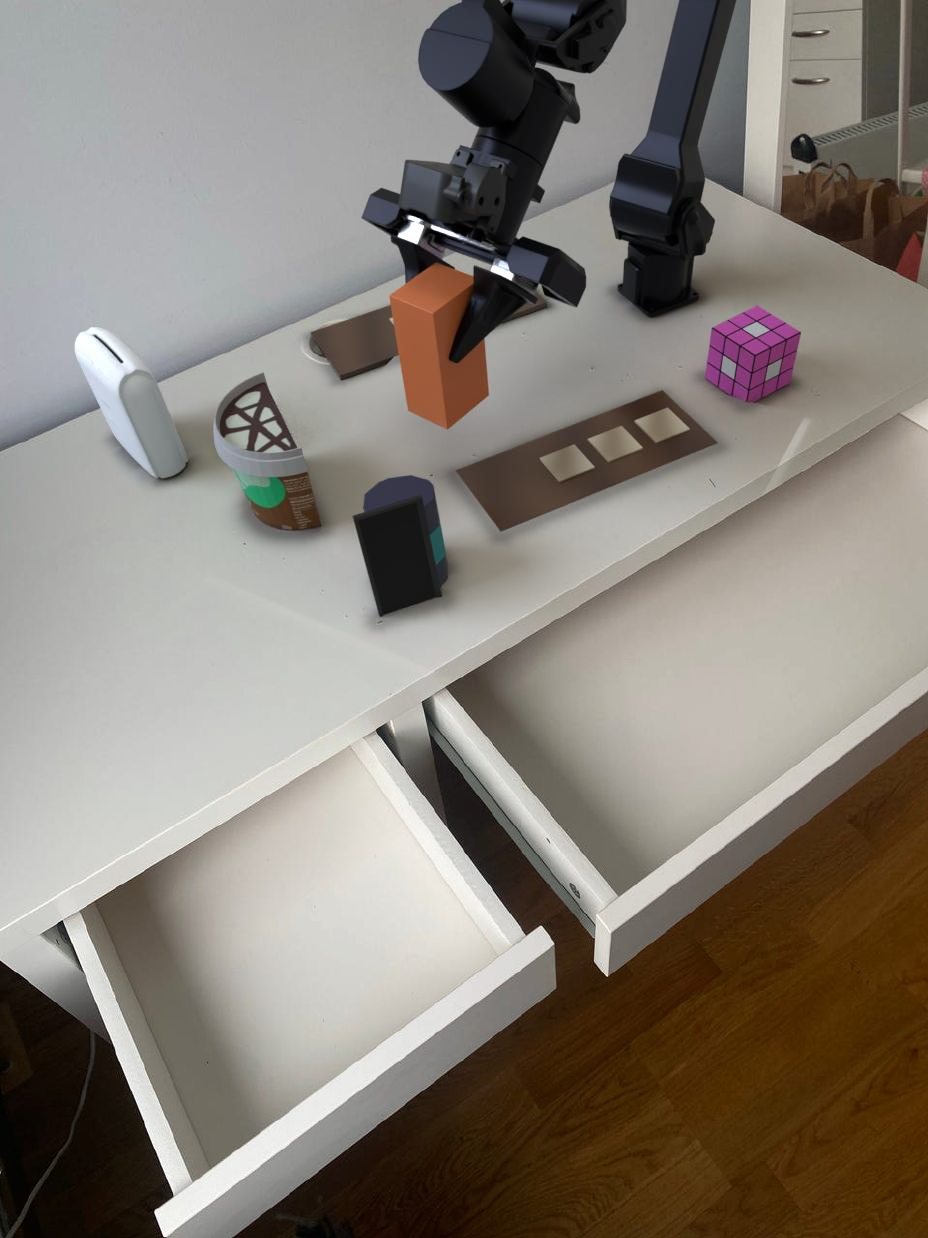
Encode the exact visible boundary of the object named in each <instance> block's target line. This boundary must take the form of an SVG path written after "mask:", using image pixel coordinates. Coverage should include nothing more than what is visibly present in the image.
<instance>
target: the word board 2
mask: <svg viewBox="0 0 928 1238" xmlns="http://www.w3.org/2000/svg"><path fill="white" fill-rule="evenodd" d="M718 443H719V442H718V441H717V440H716V439H715V438H714V437H713V436H712V435H710V433H709V432H707V431H706V430H705V429H704V428H703V427H702V426H701V425H700V424H699V423H698V422H697V421H696V420H695V419H693V417H692V416H691V415H689V413H688V412H686V411H685V410H684V409H683V408H682V407H681V406H680V405H679V404H677V402H676V401H675V400H673V398H671V396H669V395H668V394H667V393H666V392H665V391H664V390H663V389H661V390H658V391H656V392H653V393H651V394H649V395H646V396H643V397H641V398H638V399H635V400H632V401H630V402H628V403H625V404H622V405H620V406H617V407H615V408H612V409H610V410H607V411H604V412H602V413H599V414H597V415H594V416H591V417H589V418H587V419H584V420H581V421H579V422H576V423H573V424H571V425H569V426H566V427H563V428H561V429H558V430H555V431H553V432H551V433H548V434H546V435H543V436H540V437H537V438H535V439H533V440H530V441H527V442H525V443H522V444H520V445H516V446H513V447H512V448H509V449H507V450H504V451H501V452H499V453H496V454H494V455H492V456H489V457H485V458H484V459H481V460H479V461H475V462H473V463H470V464H468V465H465V466H462V467H461V468H458V469H455V472H456V474H457V475H458V476H459V478H460V479H461V480H462V481H463V483H464V485H465V486H466V487H467V488H468V490H469V491H470V493H471V494H472V495H473V496H474V498H475V499H476V501H477V503H479V504H480V506H481V507H482V509H483V510H484V511H485V513H486V514H487V515H488V517H489V518H490V519H491V521H492V522H493V524H494V525H495V526H496V527H497V529H498V531H499V532H503V531H506V530H509V529H511V528H513V527H516V526H519V525H521V524H523V523H527V522H529V521H531V520H533V519H536V518H538V517H540V516H543V515H546V514H548V513H551V512H553V511H555V510H558V509H560V508H562V507H565V506H567V505H571V504H573V503H576V502H577V501H581V500H582V499H585V498H587V497H589V496H592V495H595V494H597V493H599V492H602V491H605V490H606V489H609V488H611V487H614V486H616V485H618V484H621V483H624V482H626V481H628V480H631V479H634V478H636V477H639V476H641V475H644V474H646V473H648V472H651V471H653V470H655V469H658V468H660V467H663V466H665V465H667V464H670V463H672V462H675V461H678V460H680V459H682V458H685V457H688V456H690V455H692V454H695V453H697V452H699V451H702V450H704V449H707V448H709V447H712V446H715V445H716V444H718Z"/></svg>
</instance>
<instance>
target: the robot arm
mask: <svg viewBox="0 0 928 1238" xmlns="http://www.w3.org/2000/svg"><path fill="white" fill-rule="evenodd" d="M736 3H737V0H678V3H677V7H676V11H675V14H674V15H675V16H674V20H673V24H672V28H671V32H670V36H669V41H668V45H667V49H666V52H665V57H664V62H663V64H662V70H661V73H660V77H659V82H658V85H657V90H656V94H655V99H654V103H653V107H652V110H651V115H650V119H649V124H648V128H647V131H646V134H645V137H644V138H643V139H642V141H640V143H638V145H637V146H636V147H635V149H633V150H632V152H631V153H630V154H629V153H627V152H626V153H623V155H622V156H621V157H620V159H619V160H618V163H617V169H616V174H615V175H616V176H615V180H614V184H613V187H612V190H611V192H610V194H609V203H608V210H609V217H610V220H611V223H612V229H613V234H614V237H615V239H616V240H618V241H624V242H627V257H626V258H624V260H623V268H622V269H623V272H622V283H619V284H618V285H617V288H616V289H617V292H619V293H620V294H621V295H622V296H623V297H624V298H625V299H627V300H628V302H630V303H631V304H632V305H634V306H635V307H636V308H637V309H638V310H639V311H640V312H641V313H643V314H644V315H645V316H646V317H650V318H651V317H655V316H657V315H660V314H662V313H665V312H668V311H671V310H673V309H677V308H679V307H682V306H684V305H687V304H689V303H692V302H695V301H697V300H699V299H700V292H698V291H697V290H696V289H695V288H694V287H693V286H692V283H693V273H694V265H695V264H694V263H695V257H697V256H699V257H700V256H703V255H704V254H705V253H706V251H707V245H708V244H709V243H710V241H711V238H712V236H713V234H714V227H715V224H716V219H715V218H714V217H713V215H712V214H711V213H710V211H709V210H708V209H707V208H706V207H705V206H704V204H703V203H702V199H703V193H704V188H705V184H706V176H705V171H704V167H703V163H702V159H701V155H700V151H699V146H698V145H699V141H700V137H701V133H702V129H703V125H704V122H705V119H706V116H707V112H708V107H709V105H710V99H711V97H712V92H713V89H714V86H715V81H716V78H717V74H718V71H719V66H720V64H721V60H722V55H723V52H724V48H725V45H726V40H727V37H728V34H729V31H730V30H729V29H730V25H731V22H732V18H733V14H734V11H735V8H736ZM627 6H628V0H503V1H502V2H501V0H461V2H458V3H455V4H453V5H451V6H449V7H448V8H446V9H445V10H443V12H440V14H439V15H438V16H437V17H436V18H435V19H434V20H433V22H432V23H431V25H430V26H429V27H427V28H426V29H425V30H424V32H423V34H422V37H421V40H420V43H419V47H418V54H417V55H418V56H417V63H418V70H419V72H420V76H421V78H422V80H424V82H425V83H426V84H427V86H429V87H430V88H431V89H432V90H433V91H434V92H435V93H436V94H437V95H439V97H440V98H442V99H443V100H444V101H446V102H447V104H449V105H450V106H451V107H452V108H453V109H454V110H456V112H457V113H458V114H460V115H461V116H462V117H463V118H464V119H466V120H467V121H468V122H469V123H470V124H472V125H473V126H475V127H476V128H477V132H476V134H475V136H474V139H473V140H472V143H471V147H468V146H465V145H462V144H459V147H458V148H457V149H456V150H455V151H454V154H453V156H452V159H451V161H450V162H449V163H447V162H440V161H431V160H430V161H429V160H418V159H405V160H404V166H403V172H402V177H401V186H400V192H396V191H392V190H391V189H390V190H389V189H387V188H383V187H380V188H379V189H377V190H375V191H373V192H372V193H371V194H369V196H368V199H367V201H366V204H365V206H364V210H363V212H362V215H361V218H360V219H362V220H363V221H365V222H367V223H369V224H370V225H371V226H373V227H375V228H376V229H378V230H380V231H382V232H383V233H385V234H386V235H389V236H390V242H391V244H393V245H394V246H396V247H397V248H398V250H399V254H400V256H401V259H402V261H403V266H404V279H405V280H404V282H405V283H404V285H405V284H406V283H407V282H409V281H410V280H412V279H413V278H415V277H416V276H417V275H419V274H420V273H422V272H423V271H424V270H426V269H427V268H429V267H430V266H432V265H433V264H434V263H436V262H437V263H439V264H442V265H445V266H447V267H450V268H452V269H455V270H456V267H455V266H453V265H452V264H450V263H448V262H447V261H446V260H443V258H444V256H445V253H446V250H450V251H452V252H455V253H456V254H460V255H462V256H466V257H468V258H471V259H474V260H477V261H479V262H482V263H485V264H487V265H490V268H489V269H487V268H483V267H481V266H478V265H473V268H472V269H473V271H472V272H473V273H472V276H473V294H472V296H471V299H470V301H469V304H468V306H467V308H466V311H465V313H464V316H463V318H462V321H461V323H460V325H459V328H458V330H457V333H456V335H455V338H454V341H453V344H452V347H451V351H450V354H449V360H450V361H452V362H454V363H459V362H460V361H461V360H462V359H463V358H464V357H465V356H466V355H468V354H469V353H470V352H471V351H472V350H473V349H474V348H475V347H476V346H477V345H478V344H479V343H480V342H481V341H482V340H483V339H484V338H485V339H486V338H487V337H488V336H489V335H490V334H491V333H492V332H493V331H494V330H495V329H496V328H497V327H498V326H500V325H501V324H503V323H504V322H503V321H504V320H506V319H507V318H508V317H510V316H511V315H512V314H513V313H515V312H516V311H517V310H518V309H520V308H521V307H522V306H524V305H525V304H526V303H531V304H534V305H535V304H536V303H537V301H538V298H537V297H535V296H534V294H535V292H537V289H538V287H539V285H540V286H541V290H542V292H543V295H544V296H545V297H546V298H549V299H551V300H554V301H556V302H559V303H562V304H564V305H567V306H569V307H570V306H571V307H573V308H578V306H579V305H580V303H581V300H582V297H583V296H584V293H585V290H586V289H587V274H586V268H585V267H583V266H582V264H580V263H579V262H577V261H576V260H574V259H573V258H572V257H571V256H570V255H568V254H567V253H565V251H563V250H562V249H561V248H559V247H556V246H553V245H550V244H547V243H544V242H541V241H538V240H535V239H532V238H529V237H528V236H527V237H526V236H524V235H522V236H521V237H519V238H518V237H517V236H518V233H519V231H520V228H521V226H522V223H523V221H524V218H525V217H526V214H527V211H528V209H529V207H530V204H531V202H534V203H537V204H541V202H542V201H543V197H544V195H545V193H546V190H545V189H544V188H543V187H542V186H541V185H540V184H539V182H540V179H541V177H542V175H543V173H544V170H545V168H546V166H547V163H548V160H549V158H550V156H551V153H552V151H553V149H554V146H555V143H556V141H557V138H558V137H559V134H560V131H561V129H562V127H563V124H564V122H566V123H569V124H574V125H578V124H579V123H580V121H581V108H580V105H579V102H578V99H577V96H576V85H575V83H572V82H569V81H565V80H560V79H557V78H556V77H555V76H554V75H553V74H552V73H551V72H550V71H548V70H546V69H544V68H541V67H538V66H537V64H539V65H543V66H549V67H553V68H556V69H557V68H558V69H561V70H565V71H569V72H574V73H578V74H579V73H580V74H585V75H586V74H593V73H594V72H596V71H597V70H598V69H599V67H600V66H601V65H603V63H604V62H605V60H606V59H607V57H608V56H609V54H610V53H611V51H612V49H613V48H614V46H615V43H616V42H617V39H618V38H619V36H620V34H621V33H622V31H623V29H624V27H625V25H626V24H627V12H628V9H627V8H628V7H627ZM536 66H537V67H536ZM502 322H503V323H502Z"/></svg>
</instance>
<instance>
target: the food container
mask: <svg viewBox="0 0 928 1238" xmlns="http://www.w3.org/2000/svg"><path fill="white" fill-rule="evenodd" d="M213 440H214V441H213V442H214V447H215V450H216V453H217V454H218V456H219V458H220V459H221V460H222V461H223V462H224V463H225V464H226V465H227V466H229V468H231V469H233V472H234V474H235V476H236V478H237V480H238V482H239V484H240V487H241V489H242V492H243V493H244V495H245V497H246V499H247V502H248V504H249V507H250V509H251V511H252V512H253V514H254V516H255V517H256V518H257V519H258V520H259V521H260V523H263V524H264V525H266V526H268V527H270V528H273V529H276V530H280V531H281V530H282V531H291V532H292V531H293V532H294V531H305V530H311V529H314V528H317V527H321V526H322V522H321V517H320V513H319V511H318V506H317V503H316V499H315V498H316V497H315V495H314V491H313V488H312V487H313V486H312V483H311V479H310V475H309V473H308V472H309V468H308V465H307V461H306V458H305V455H304V452H303V450H302V447H301V446H300V447H298V446H297V444H296V442H295V440H294V438H293V436H292V433H291V432H290V430H289V427H288V425H287V424H286V420H285V419H284V417H283V415H282V413H281V411H280V409H279V407H278V405H277V403H276V401H275V399H274V397H273V396H272V393H271V391H270V389H269V385H268V382H267V378H266V376H265V372H264V371H262V372H260V373H257V374H254V375H251V376H250V377H247V378H246V379H244V380H243V381H241V382H239V383H238V384H236V385H235V386H234V387H232V388H231V389H229V391H228V392H227V393H226V394H225V395H224V396H223V397H222V399H221V400H220V401H219V403H218V405H217V407H216V410H215V414H214V420H213Z"/></svg>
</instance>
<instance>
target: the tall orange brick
mask: <svg viewBox="0 0 928 1238" xmlns="http://www.w3.org/2000/svg"><path fill="white" fill-rule="evenodd" d="M472 294H473V275H471V274H469V273H465V272H463V271H460V270H458V269H456V268H455V269H452V268H450V267H447V266H445V265H442V264H439V263H437V262H436V263H434V264H433V265H432V266H430V267H429V268H427V269H426V270H424V271H423V272H422V273H420V274H419V275H417V276H416V277H415V278H413V279H412V280H410V281H409V282H407V283H406V284H405V283H404V284H403V285H401V286H400V287H399V288H398V289H396V290H394V291H393V292H392V293H390V294H389V296H388V297H389V303H390V305H391V309H392V316H393V322H394V328H395V334H396V340H397V346H398V352H399V355H398V358H399V363H400V364H399V365H400V370H401V371H400V372H401V377H402V383H403V389H404V394H405V395H404V396H405V400H406V407H407V411H408V412H409V413H412V414H413V415H416V416H418V417H420V418H422V419H424V420H426V421H428V422H431V423H433V424H435V425H436V426H439V427H440V428H442V429H445V430H449V429H450V428H452V427H453V426H454V425H455V424H456V423H458V422H459V421H460V420H462V418H464V417H465V416H466V415H468V414H469V413H470V412H471V411H472V410H473V409H475V408H476V407H477V406H478V405H479V404H480V403H482V402H483V401H484V400H485V399H487V398H488V397H489V396H490V391H489V379H488V366H487V351H486V341H485V339H486V337H485V338H484V339H483V340H482V341H481V342H480V343H479V344H478V345H477V346H476V347H475V348H474V349H473V350H472V351H471V352H470V353H469V354H468V355H466V356H465V357H464V358H463V359H462V360H461V361H460V362H459V363H454V362H452V361H450V360H449V354H450V351H451V347H452V344H453V341H454V338H455V335H456V333H457V330H458V328H459V325H460V323H461V321H462V318H463V316H464V313H465V311H466V308H467V306H468V304H469V301H470V299H471V296H472Z"/></svg>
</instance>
